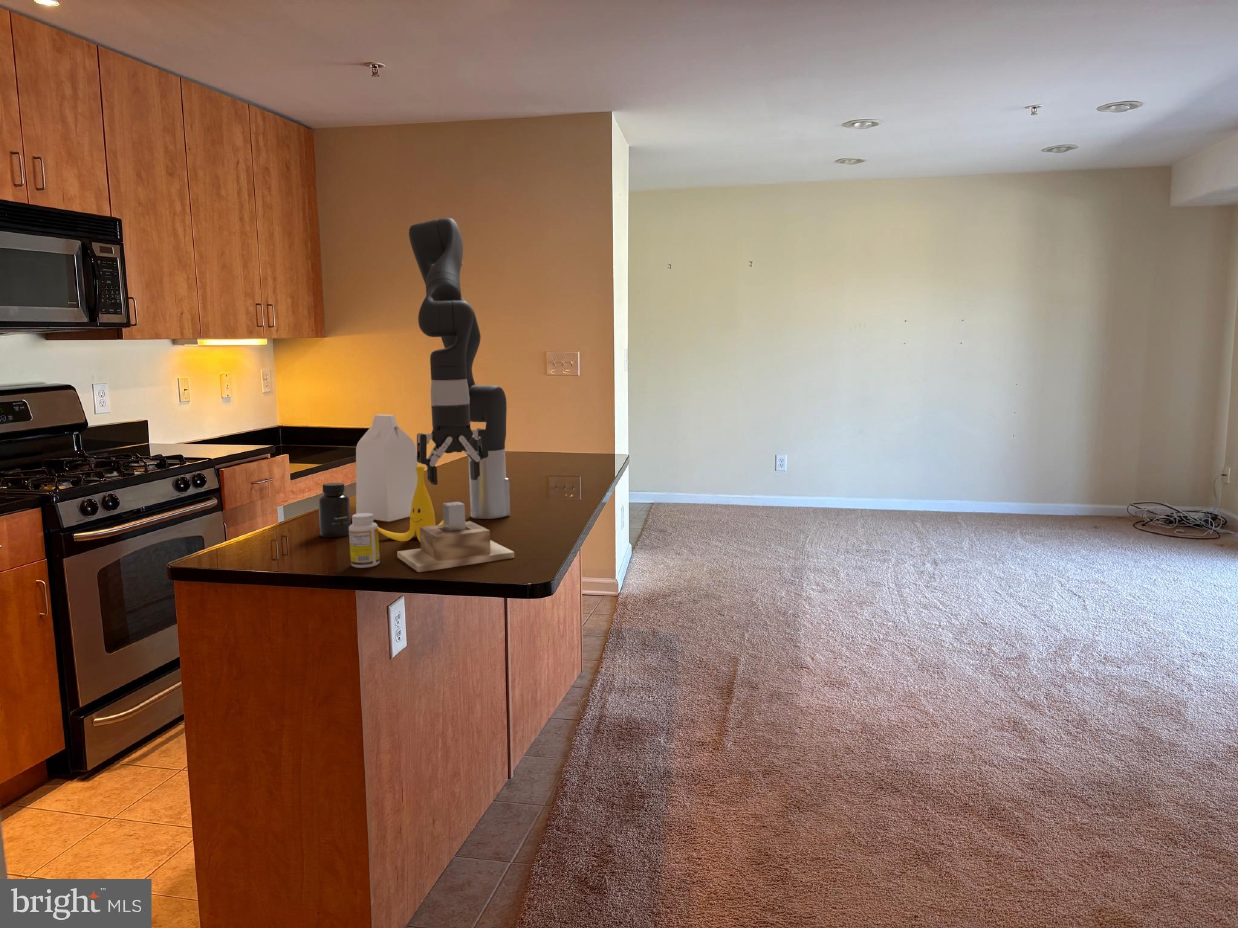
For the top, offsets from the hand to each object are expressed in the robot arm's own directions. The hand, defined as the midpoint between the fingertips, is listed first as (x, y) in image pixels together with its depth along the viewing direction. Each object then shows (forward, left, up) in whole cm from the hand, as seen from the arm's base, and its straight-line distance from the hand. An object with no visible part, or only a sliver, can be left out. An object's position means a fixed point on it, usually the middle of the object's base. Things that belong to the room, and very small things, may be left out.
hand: (454, 482), depth 168 cm
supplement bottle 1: (+16, -36, -16) cm, 43 cm away
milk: (-1, -52, -16) cm, 55 cm away
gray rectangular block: (0, 0, -15) cm, 15 cm away
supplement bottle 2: (+18, -4, -16) cm, 24 cm away
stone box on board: (0, 0, -16) cm, 16 cm away
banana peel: (-2, -23, -16) cm, 28 cm away
